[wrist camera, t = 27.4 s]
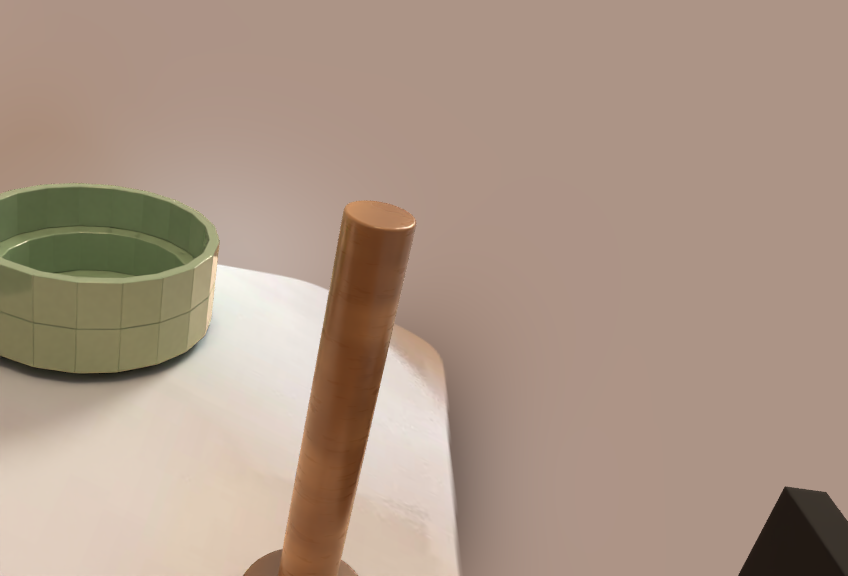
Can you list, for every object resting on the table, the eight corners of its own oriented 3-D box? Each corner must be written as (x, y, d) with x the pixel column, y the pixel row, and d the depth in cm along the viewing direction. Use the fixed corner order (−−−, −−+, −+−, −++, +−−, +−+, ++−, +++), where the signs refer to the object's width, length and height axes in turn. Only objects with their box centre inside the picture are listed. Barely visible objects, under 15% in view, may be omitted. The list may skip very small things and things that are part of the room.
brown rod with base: (361, 579, 34) (454, 199, 26) (359, 685, 29) (471, 263, 22) (243, 566, 33) (304, 171, 25) (222, 672, 28) (288, 231, 21)
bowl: (225, 287, 54) (235, 206, 51) (183, 398, 42) (192, 300, 39) (23, 254, 52) (22, 168, 49) (-81, 361, 40) (-90, 255, 38)
